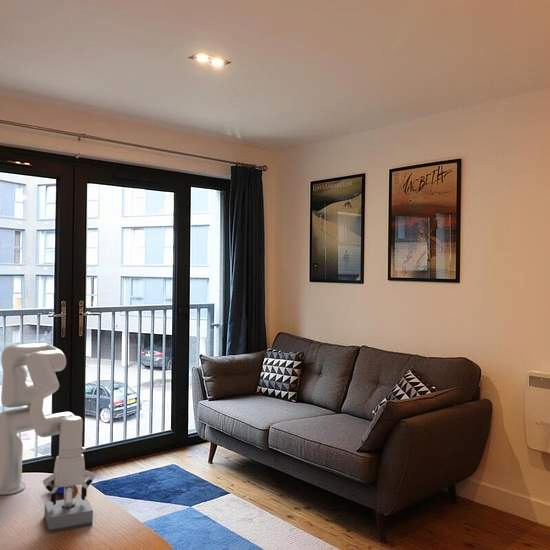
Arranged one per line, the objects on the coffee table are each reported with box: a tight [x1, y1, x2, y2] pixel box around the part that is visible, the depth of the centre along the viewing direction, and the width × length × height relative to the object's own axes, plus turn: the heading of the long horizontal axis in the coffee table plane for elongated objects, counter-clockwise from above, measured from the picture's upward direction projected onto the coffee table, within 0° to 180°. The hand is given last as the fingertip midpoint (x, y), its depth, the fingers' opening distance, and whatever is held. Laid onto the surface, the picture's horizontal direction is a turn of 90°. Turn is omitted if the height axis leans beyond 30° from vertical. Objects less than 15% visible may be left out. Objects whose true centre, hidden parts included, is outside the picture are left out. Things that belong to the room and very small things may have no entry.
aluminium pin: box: [63, 485, 73, 509], centre depth 192 cm, size 3×3×11 cm
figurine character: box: [48, 480, 79, 498], centre depth 216 cm, size 7×8×15 cm
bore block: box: [43, 496, 94, 533], centre depth 192 cm, size 14×14×5 cm
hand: (68, 501), depth 192 cm, fingers open, 9 cm apart
